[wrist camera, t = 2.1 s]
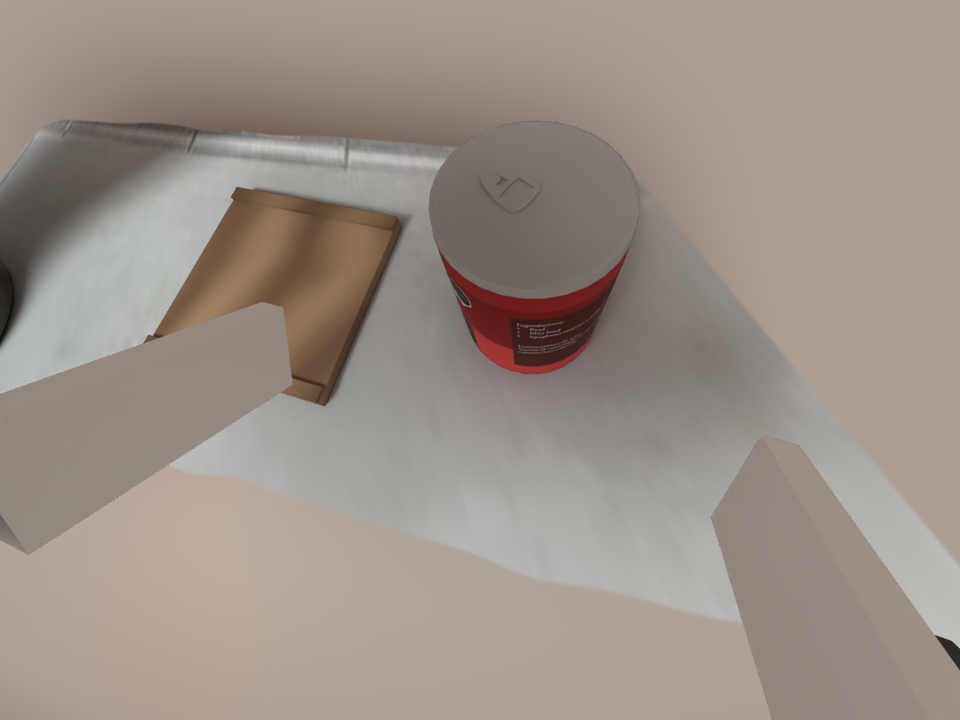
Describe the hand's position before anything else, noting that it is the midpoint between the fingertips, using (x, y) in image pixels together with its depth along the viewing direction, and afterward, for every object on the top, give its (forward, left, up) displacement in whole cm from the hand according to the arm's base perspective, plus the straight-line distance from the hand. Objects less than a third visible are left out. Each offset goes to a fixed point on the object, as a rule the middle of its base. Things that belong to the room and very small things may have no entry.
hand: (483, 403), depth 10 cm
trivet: (-19, +6, -12) cm, 23 cm away
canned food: (-1, +8, -12) cm, 15 cm away
